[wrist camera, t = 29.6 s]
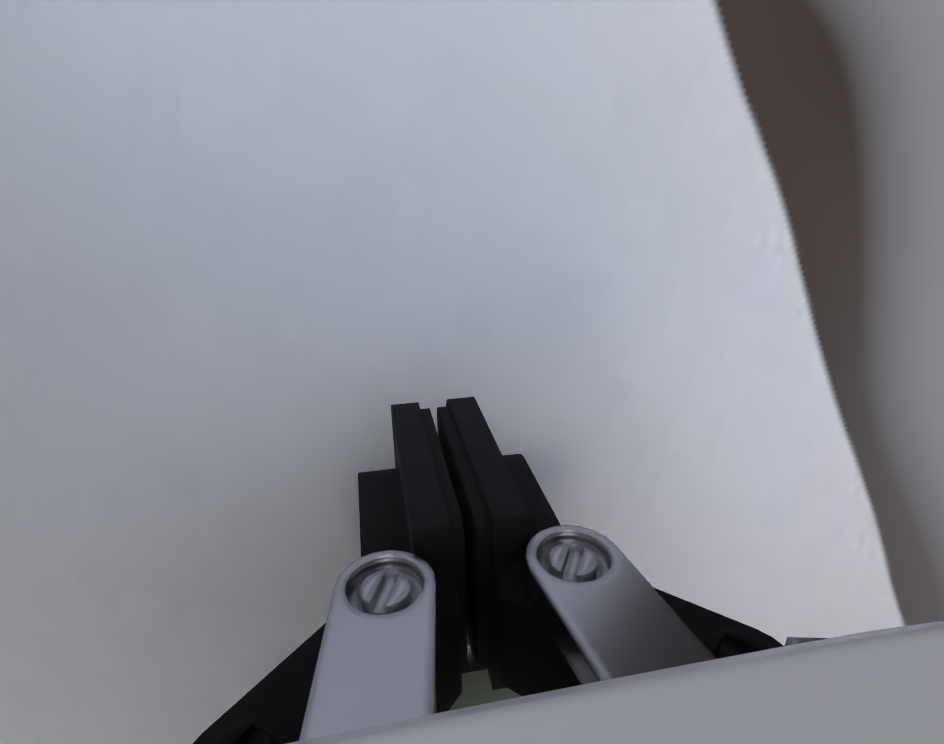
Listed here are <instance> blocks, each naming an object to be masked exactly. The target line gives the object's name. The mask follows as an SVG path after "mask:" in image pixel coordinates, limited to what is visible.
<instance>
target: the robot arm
mask: <svg viewBox="0 0 944 744" xmlns="http://www.w3.org/2000/svg"><path fill="white" fill-rule="evenodd" d="M391 414H392V427H393V440H394V453H395V467H396V468H395V469H386V470H378V471H370V472H361V473H358V486H359V513H360V540H361V558H359V559H357V560H356V561H354V562H353V563H351V564H350V565H348V566H347V567H346V568H345V570H344V571H343V572H342V573H341V574H340V575H339V577H338V579H337V582H336V584H335V586H334V590H333V594H332V599H331V603H330V608H329V612H328V616H327V621H326V623H325V624H324V625H323V626H322V627H321V628H320V629H318V630H317V631H316V632H315V633H314V634H313V635H312V636H311V637H310V638H308V639H307V640H306V641H305V642H304V643H303V644H302V645H301V646H299V647H298V648H297V649H296V650H295V651H294V652H293V653H292V654H290V655H289V656H288V657H287V658H286V659H285V660H284V661H283V662H282V663H280V664H279V665H278V666H277V667H276V668H275V669H274V670H273V671H271V672H270V673H269V674H268V675H267V676H266V677H265V678H264V679H263V680H261V681H260V682H259V683H258V684H257V685H256V686H255V687H254V688H252V689H251V690H250V691H249V692H248V693H247V694H246V695H245V696H243V697H242V698H241V699H240V700H239V701H238V702H237V703H236V704H235V705H233V706H232V707H231V708H230V709H229V710H228V711H227V712H226V713H224V714H223V715H222V716H221V717H220V718H219V719H218V720H217V721H215V722H214V723H213V724H212V725H211V726H210V727H209V728H208V729H207V730H205V731H204V732H203V733H202V734H201V735H200V736H199V737H198V739H197V740H196V741H195V742H194V743H193V744H944V621H940V622H931V623H924V624H918V625H910V626H903V627H896V628H889V629H881V630H875V631H868V632H862V633H856V634H851V635H845V636H840V637H834V638H798V637H787V640H786V644H785V646H783V645H782V644H780V643H779V642H778V641H777V640H775V639H774V638H773V637H771V636H769V635H767V634H765V633H763V632H761V631H759V630H757V629H755V628H752V627H750V626H747V625H745V624H742V623H740V622H737V621H735V620H732V619H730V618H727V617H725V616H723V615H720V614H718V613H715V612H713V611H710V610H708V609H705V608H703V607H700V606H698V605H695V604H693V603H690V602H688V601H685V600H683V599H680V598H678V597H675V596H673V595H670V594H668V593H665V592H663V591H660V590H658V589H656V588H653V587H652V586H651V585H650V584H649V582H648V581H647V580H646V579H645V578H644V577H643V576H642V574H641V573H640V572H639V571H638V570H637V569H636V568H635V567H634V565H633V564H632V563H631V562H630V561H629V560H628V559H627V558H626V556H625V555H624V554H623V553H622V552H621V551H620V550H619V549H618V547H617V546H616V545H615V544H614V543H613V542H612V541H610V540H609V539H608V538H607V537H606V536H604V535H602V534H600V533H598V532H596V531H594V530H592V529H588V528H584V527H581V526H571V525H562V526H561V525H560V523H559V521H558V519H557V518H556V516H555V514H554V512H553V510H552V508H551V506H550V505H549V503H548V501H547V499H546V497H545V495H544V493H543V492H542V490H541V488H540V486H539V484H538V482H537V480H536V479H535V477H534V475H533V473H532V471H531V469H530V467H529V466H528V464H527V462H526V460H525V458H524V457H523V455H522V454H513V455H505V456H502V454H501V452H500V450H499V448H498V446H497V444H496V442H495V440H494V438H493V435H492V433H491V431H490V429H489V427H488V425H487V423H486V421H485V419H484V416H483V414H482V412H481V410H480V408H479V406H478V404H477V402H476V400H475V398H474V397H467V398H456V399H447V401H446V407H437V427H438V435H437V431H436V428H435V425H434V421H433V418H432V415H431V411H430V408H427V409H420V407H419V403H418V402H416V403H406V404H396V405H391ZM467 635H468V639H469V643H470V648H471V652H472V656H473V660H474V664H475V668H476V670H477V671H481V670H486V669H487V670H488V674H489V678H490V682H491V685H492V689H493V690H498V689H503V688H508V689H510V690H512V691H514V692H515V693H517V694H519V695H521V696H522V697H517V698H512V699H507V700H501V701H496V702H491V703H486V704H481V705H476V706H471V707H466V708H461V709H456V710H450V711H449V709H450V708H451V707H452V705H453V704H454V703H455V701H456V700H457V699H458V697H459V696H460V695H461V693H462V674H465V673H467Z"/></svg>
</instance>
